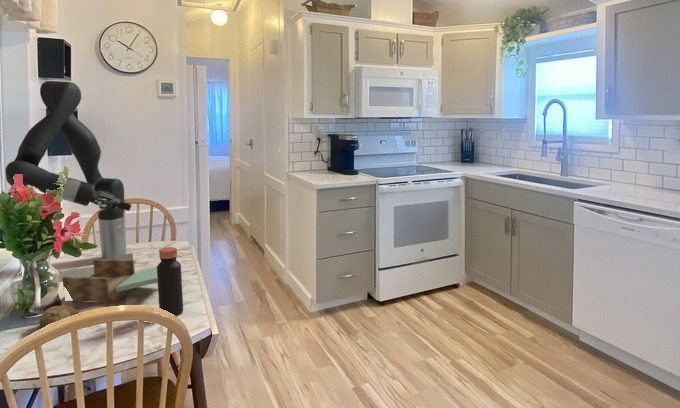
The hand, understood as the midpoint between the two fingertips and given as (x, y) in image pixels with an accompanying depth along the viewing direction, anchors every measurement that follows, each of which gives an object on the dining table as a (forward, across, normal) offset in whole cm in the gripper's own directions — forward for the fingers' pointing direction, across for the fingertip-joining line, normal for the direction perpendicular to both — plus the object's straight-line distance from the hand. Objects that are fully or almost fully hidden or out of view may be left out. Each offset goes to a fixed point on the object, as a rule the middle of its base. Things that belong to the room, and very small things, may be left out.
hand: (130, 207), depth 163 cm
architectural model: (+8, +9, +29) cm, 31 cm away
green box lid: (+7, -14, +21) cm, 26 cm away
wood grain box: (+1, -11, +27) cm, 29 cm away
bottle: (+18, -36, +16) cm, 44 cm away
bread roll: (-9, -36, +28) cm, 46 cm away
